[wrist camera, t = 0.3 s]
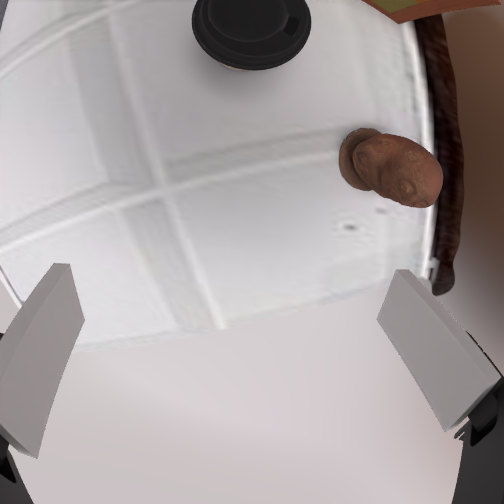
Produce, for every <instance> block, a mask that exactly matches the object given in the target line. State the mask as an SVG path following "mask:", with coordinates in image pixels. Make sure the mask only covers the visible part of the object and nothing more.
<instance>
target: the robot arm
mask: <svg viewBox="0 0 504 504" xmlns="http://www.w3.org/2000/svg"><path fill="white" fill-rule="evenodd" d="M377 320H378V322H379V324H380V325H381V327H382V328H383V330H384V331H385V333H386V334H387V336H388V338H389V339H390V341H391V342H392V344H393V345H394V347H395V349H396V350H397V352H398V353H399V355H400V356H401V358H402V359H403V361H404V363H405V364H406V366H407V367H408V369H409V371H410V372H411V374H412V376H413V377H414V379H415V381H416V382H417V384H418V386H419V387H420V389H421V391H422V392H423V394H424V396H425V398H426V399H427V401H428V403H429V405H430V406H431V408H432V410H433V411H434V413H435V415H436V417H437V419H438V421H439V422H440V424H441V426H442V428H443V430H444V431H445V432H446V431H448V430H450V429H452V428H454V427H456V426H458V425H459V424H460V423H461V422H462V421H463V420H464V419H465V418H466V417H467V416H468V418H469V419H470V420H469V421H468V422H467V423H466V424H465V425H464V426H463V427H462V428H461V429H460V430H459V431H458V432H457V433H456V434H455V436H454V438H455V439H456V438H457V437H458V436H460V435H461V434H462V433H463V432H464V431H465V433H464V434H463V435H462V436H461V437H460V438H459V440H462V441H463V450H462V456H461V462H460V468H459V473H458V478H457V483H456V488H455V492H454V497H453V500H452V504H504V377H503V375H502V374H501V373H500V371H499V370H498V369H497V367H496V366H495V365H494V363H493V362H492V361H491V359H490V358H489V357H488V356H487V354H486V353H485V352H483V349H482V348H481V347H480V346H479V345H477V344H478V343H477V342H476V341H475V340H474V338H473V337H472V336H471V335H470V334H469V333H468V332H466V331H465V330H464V329H463V328H462V327H461V325H459V323H458V322H457V321H456V320H455V319H454V318H453V316H452V315H451V314H450V313H449V312H448V311H447V310H446V309H445V308H444V306H443V305H442V304H441V303H440V302H439V301H438V300H437V299H436V297H435V296H434V295H433V294H432V293H431V292H430V291H429V290H428V289H427V288H426V287H425V286H424V285H423V284H422V283H421V282H420V281H419V280H418V279H417V278H416V276H415V275H414V274H413V273H412V272H411V271H410V270H396V271H395V274H394V276H393V279H392V282H391V284H390V287H389V290H388V292H387V295H386V298H385V300H384V303H383V305H382V308H381V310H380V313H379V315H378V318H377ZM84 321H85V319H84V315H83V312H82V309H81V305H80V302H79V298H78V295H77V291H76V287H75V283H74V279H73V275H72V271H71V267H70V264H62V263H54V264H53V265H52V266H51V268H50V269H49V270H48V271H47V273H46V274H45V275H44V277H43V278H42V279H41V281H40V282H39V283H38V285H37V286H36V287H35V289H34V290H33V291H32V293H31V294H30V296H29V297H28V299H27V300H26V301H25V303H24V304H23V306H22V307H21V309H20V310H19V312H18V313H17V315H16V316H15V318H14V319H13V321H12V322H11V324H10V326H9V327H8V329H7V330H6V332H5V334H3V333H0V504H34V503H33V501H32V499H31V498H30V495H29V494H28V492H27V489H26V487H25V485H24V483H23V481H22V479H21V477H20V475H19V472H18V469H17V467H16V465H15V462H14V460H13V457H12V455H11V453H10V452H9V450H8V446H9V444H11V445H12V446H13V447H14V448H15V449H16V450H17V451H18V452H20V453H23V454H26V455H28V456H31V457H33V458H36V459H37V458H38V454H39V450H40V446H41V441H42V438H43V434H44V431H45V427H46V424H47V420H48V417H49V413H50V410H51V407H52V404H53V401H54V398H55V395H56V392H57V389H58V386H59V383H60V380H61V378H62V375H63V372H64V369H65V367H66V364H67V362H68V359H69V356H70V354H71V352H72V349H73V347H74V344H75V342H76V339H77V337H78V335H79V332H80V330H81V328H82V326H83V323H84Z"/></svg>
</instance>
